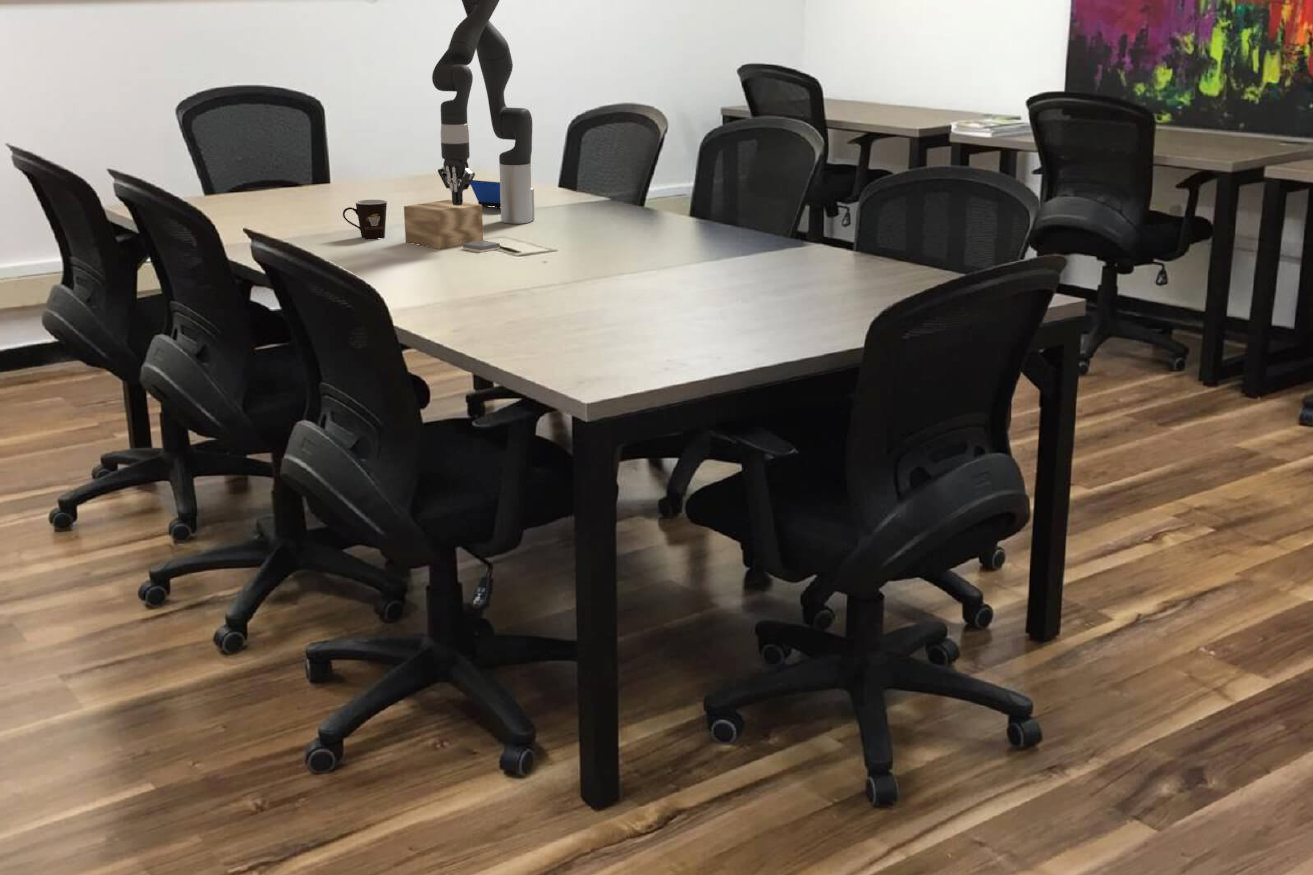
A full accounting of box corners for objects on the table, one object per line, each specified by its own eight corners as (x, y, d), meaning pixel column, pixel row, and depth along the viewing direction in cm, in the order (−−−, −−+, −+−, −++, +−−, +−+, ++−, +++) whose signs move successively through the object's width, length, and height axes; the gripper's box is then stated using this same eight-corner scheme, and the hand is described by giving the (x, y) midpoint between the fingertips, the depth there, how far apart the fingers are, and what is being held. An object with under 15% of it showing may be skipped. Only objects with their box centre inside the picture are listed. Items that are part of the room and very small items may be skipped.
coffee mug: (392, 235, 421) (390, 199, 418) (384, 240, 413) (382, 204, 410) (352, 234, 422) (350, 199, 419) (343, 239, 414) (340, 203, 411)
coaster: (499, 243, 401) (499, 250, 402) (481, 240, 406) (482, 247, 406) (480, 246, 396) (480, 254, 397) (462, 243, 401) (463, 250, 401)
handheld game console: (534, 207, 470) (534, 177, 467) (509, 213, 459) (508, 183, 456) (495, 203, 477) (494, 174, 474) (469, 208, 466) (468, 179, 464)
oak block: (449, 234, 421) (448, 199, 418) (483, 240, 413) (481, 204, 409) (405, 242, 410) (403, 206, 407) (439, 248, 401) (437, 212, 398)
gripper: (482, 141, 397) (484, 206, 403) (449, 137, 406) (451, 201, 411) (460, 143, 392) (463, 209, 397) (428, 139, 400) (430, 204, 406)
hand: (457, 205), depth 404 cm, fingers closed
